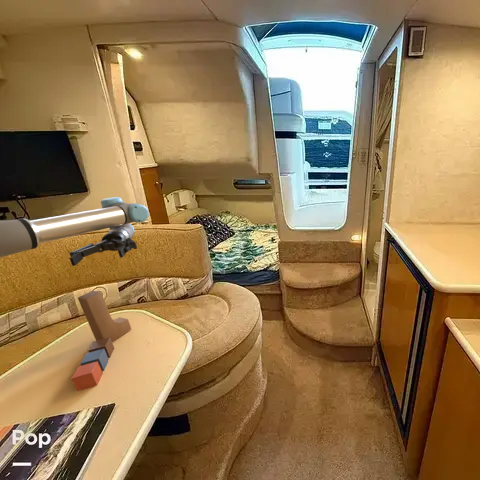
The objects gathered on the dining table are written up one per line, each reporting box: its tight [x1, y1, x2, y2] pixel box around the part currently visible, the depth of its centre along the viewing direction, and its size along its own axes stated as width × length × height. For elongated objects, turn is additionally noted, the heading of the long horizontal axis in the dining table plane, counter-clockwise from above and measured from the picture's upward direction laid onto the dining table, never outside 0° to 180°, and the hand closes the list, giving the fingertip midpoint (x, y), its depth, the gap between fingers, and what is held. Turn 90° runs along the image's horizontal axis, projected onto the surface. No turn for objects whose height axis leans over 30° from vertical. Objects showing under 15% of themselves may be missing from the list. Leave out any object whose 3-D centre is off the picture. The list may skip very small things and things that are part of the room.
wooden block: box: [77, 290, 132, 343], centre depth 89 cm, size 9×4×18 cm, turn 161°
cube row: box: [70, 337, 115, 392], centre depth 78 cm, size 15×4×4 cm, turn 22°
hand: (96, 258), depth 91 cm, fingers open, 13 cm apart
